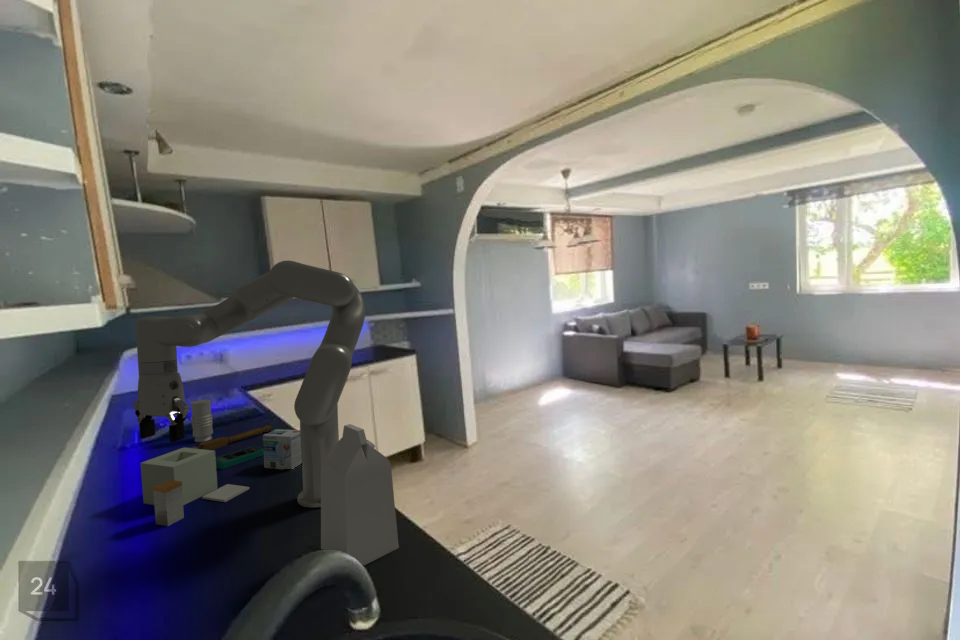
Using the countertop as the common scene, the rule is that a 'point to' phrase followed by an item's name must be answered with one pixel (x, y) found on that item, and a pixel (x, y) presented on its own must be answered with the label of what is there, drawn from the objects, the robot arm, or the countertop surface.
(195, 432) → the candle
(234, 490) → the mat
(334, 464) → the milk
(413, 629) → the countertop surface
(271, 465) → the light bulb box
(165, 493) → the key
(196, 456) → the grey hollow block
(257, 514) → the countertop surface
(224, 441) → the tap handle
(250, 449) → the digital multimeter
